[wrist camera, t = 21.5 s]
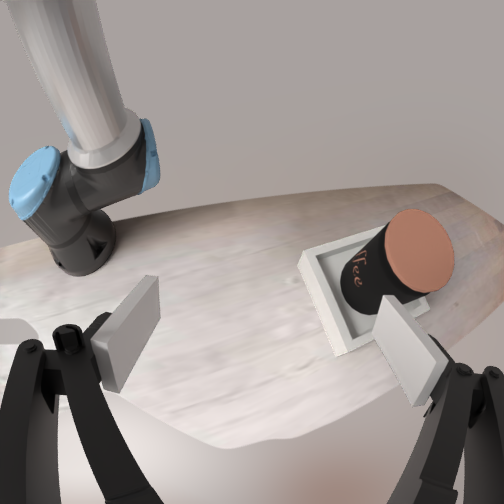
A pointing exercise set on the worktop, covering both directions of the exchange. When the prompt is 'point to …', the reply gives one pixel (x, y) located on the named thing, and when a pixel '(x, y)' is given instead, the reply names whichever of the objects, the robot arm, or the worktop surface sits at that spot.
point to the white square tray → (331, 298)
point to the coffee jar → (399, 263)
